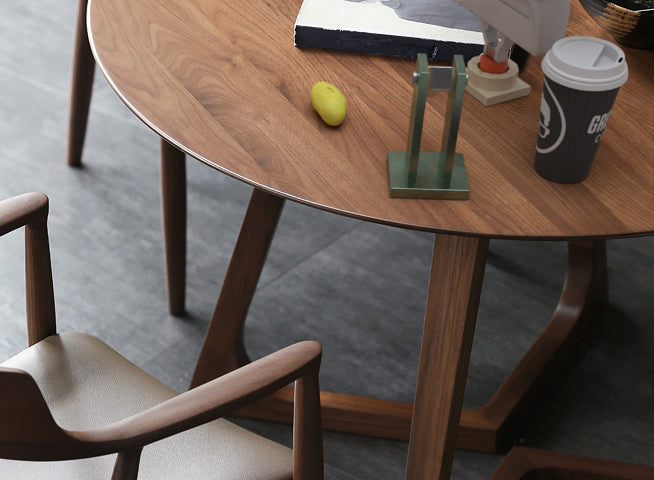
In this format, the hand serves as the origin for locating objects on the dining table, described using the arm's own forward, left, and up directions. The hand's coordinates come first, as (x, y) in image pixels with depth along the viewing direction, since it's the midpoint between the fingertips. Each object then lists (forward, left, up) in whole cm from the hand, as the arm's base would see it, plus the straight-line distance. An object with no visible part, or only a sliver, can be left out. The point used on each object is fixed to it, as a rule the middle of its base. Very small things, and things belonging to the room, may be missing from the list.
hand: (494, 57), depth 140 cm
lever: (-12, +18, +5) cm, 22 cm away
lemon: (+3, +23, -4) cm, 24 cm away
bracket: (-15, +20, -4) cm, 25 cm away
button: (0, 0, -2) cm, 2 cm away
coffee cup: (-20, +4, -4) cm, 21 cm away
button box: (0, 0, -4) cm, 4 cm away
